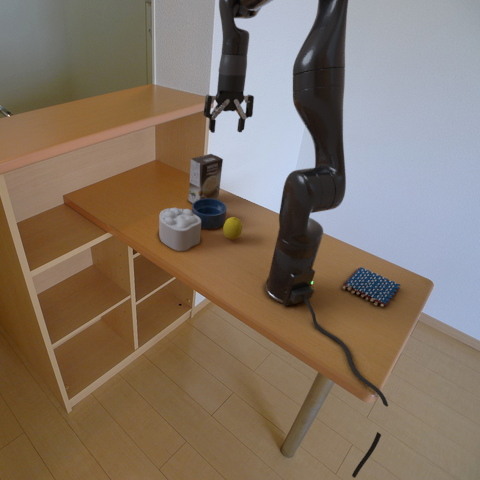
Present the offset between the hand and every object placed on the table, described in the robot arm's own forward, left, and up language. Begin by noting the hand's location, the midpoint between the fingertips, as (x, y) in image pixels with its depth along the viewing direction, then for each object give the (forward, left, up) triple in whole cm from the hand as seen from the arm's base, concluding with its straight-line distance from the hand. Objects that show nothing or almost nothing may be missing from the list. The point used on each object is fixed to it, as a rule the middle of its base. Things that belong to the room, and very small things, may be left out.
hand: (226, 132), depth 108 cm
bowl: (-5, +6, -27) cm, 29 cm away
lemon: (-17, +4, -28) cm, 33 cm away
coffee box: (+8, +2, -28) cm, 29 cm away
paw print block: (-10, +19, -28) cm, 35 cm away
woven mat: (-48, -18, -28) cm, 59 cm away
